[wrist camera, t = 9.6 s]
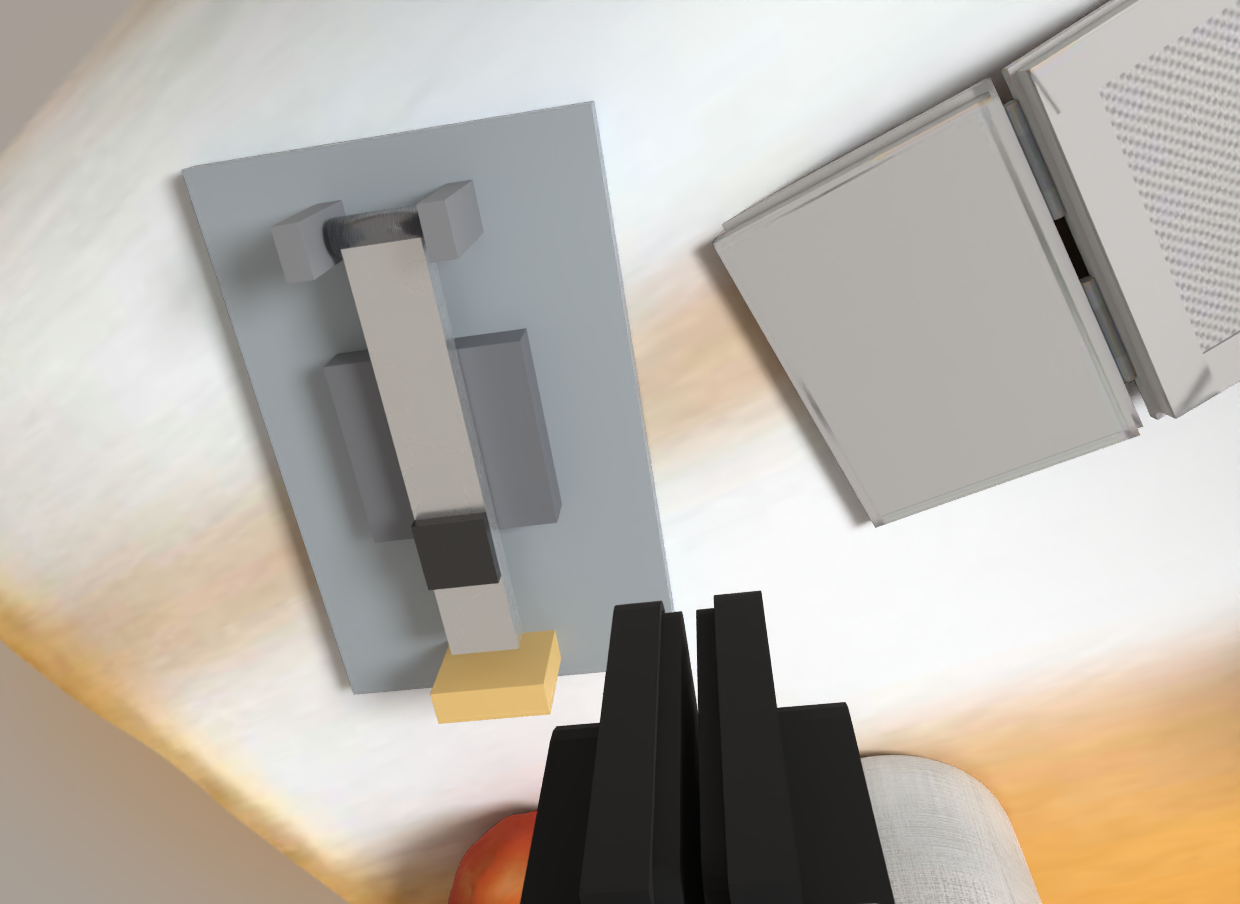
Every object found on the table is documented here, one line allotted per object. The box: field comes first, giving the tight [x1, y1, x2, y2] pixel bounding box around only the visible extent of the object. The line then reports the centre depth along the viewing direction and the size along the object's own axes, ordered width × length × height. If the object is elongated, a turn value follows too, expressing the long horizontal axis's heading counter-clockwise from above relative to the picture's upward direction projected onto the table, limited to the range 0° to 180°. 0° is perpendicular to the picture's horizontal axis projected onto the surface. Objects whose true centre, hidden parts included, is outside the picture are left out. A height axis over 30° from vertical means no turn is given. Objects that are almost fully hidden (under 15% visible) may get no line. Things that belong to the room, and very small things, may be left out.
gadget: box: [713, 0, 1240, 528], centre depth 36 cm, size 23×15×4 cm, turn 122°
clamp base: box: [182, 101, 674, 724], centre depth 39 cm, size 25×16×6 cm, turn 9°
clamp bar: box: [327, 205, 523, 655], centre depth 38 cm, size 19×4×2 cm, turn 9°
